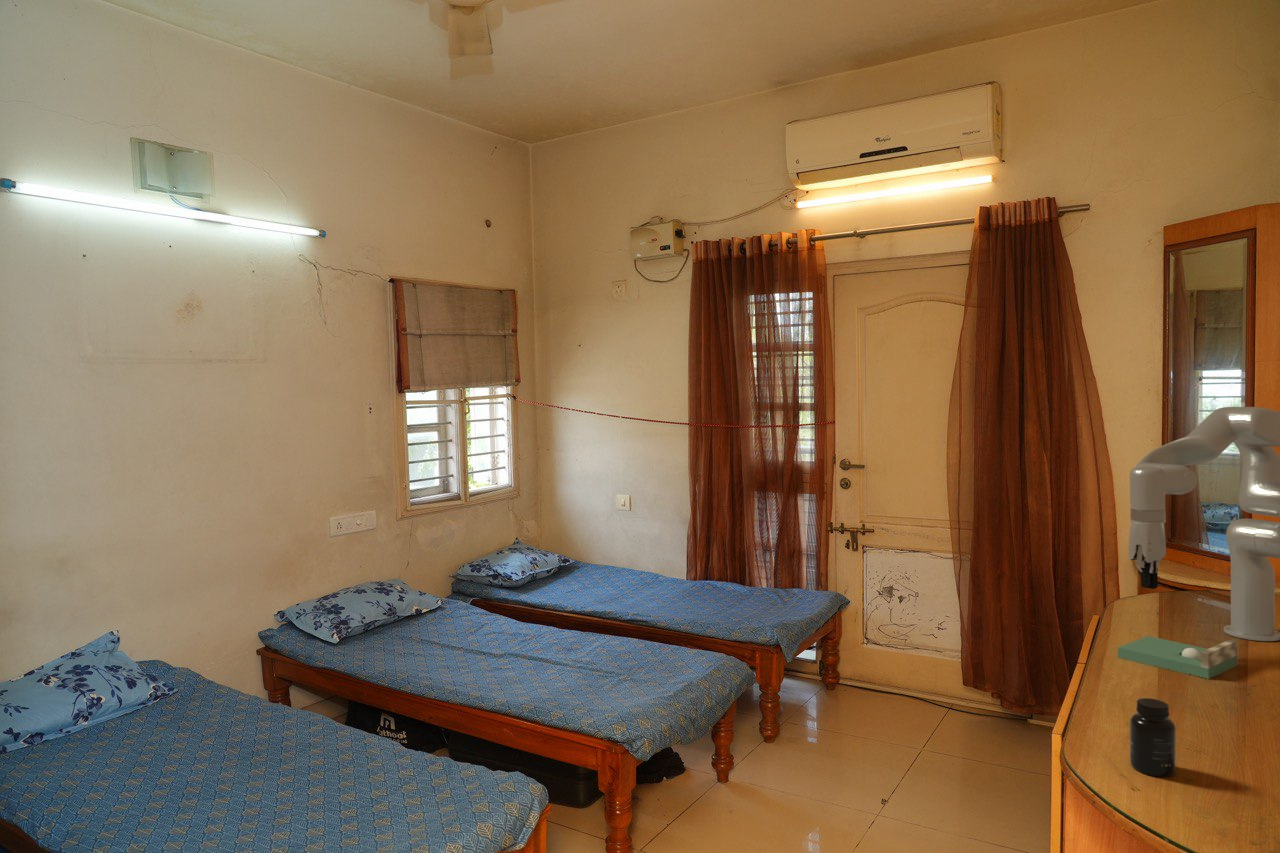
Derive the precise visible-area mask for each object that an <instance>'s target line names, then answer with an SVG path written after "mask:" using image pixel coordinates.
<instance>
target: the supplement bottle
mask: <svg viewBox="0 0 1280 853" xmlns="http://www.w3.org/2000/svg"><path fill="white" fill-rule="evenodd" d="M1135 709H1136V713H1135V714H1133V715H1131V717H1130V721H1129V727H1130V728H1129V732H1130V734H1129V761H1130V763H1129V764H1130V765H1131V767H1132V768H1133V769H1134V770H1136V771H1137V772H1139V773H1141V774H1143V775H1146V776H1149V777H1156V778H1168V777H1171V776H1174V774H1175V773H1176V760H1177V759H1176V752H1177V751H1176V750H1177V749H1176V743H1177V742H1176V740H1177V739H1176V733H1177V732H1176V725H1175V723H1174V722H1173V720H1172V719H1170V718H1169V717H1170V706H1169V704H1168V703H1166V702H1165V701H1163V700H1160V699H1155V698H1150V697H1148V698H1147V697H1146V698H1145V697H1142V698H1138V699H1137V700H1136V708H1135Z"/></svg>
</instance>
